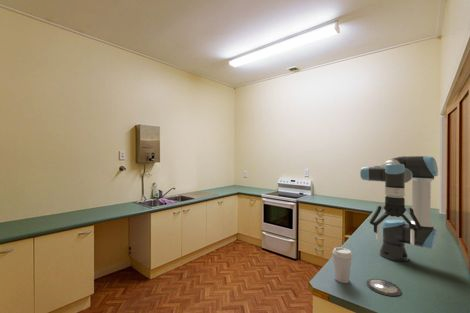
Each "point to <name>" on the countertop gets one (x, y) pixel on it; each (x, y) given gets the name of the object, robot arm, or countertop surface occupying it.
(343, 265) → the coffee cup
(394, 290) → the plate
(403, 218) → the robot arm
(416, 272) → the countertop surface
